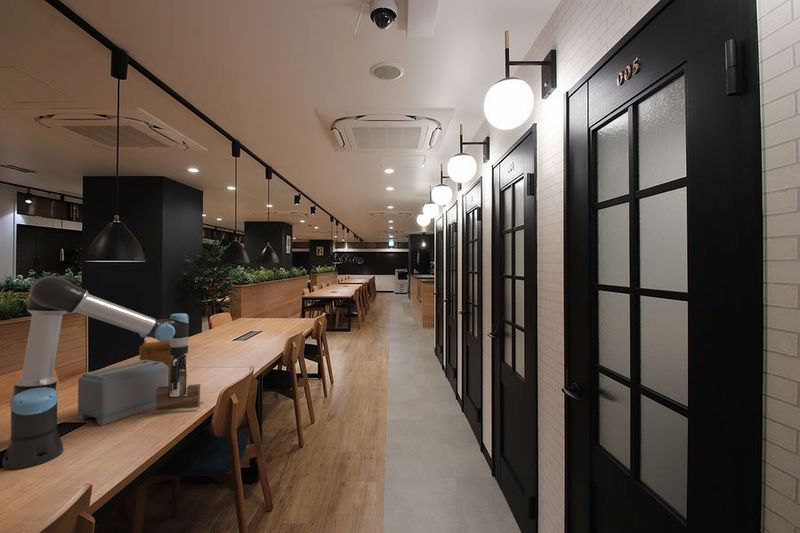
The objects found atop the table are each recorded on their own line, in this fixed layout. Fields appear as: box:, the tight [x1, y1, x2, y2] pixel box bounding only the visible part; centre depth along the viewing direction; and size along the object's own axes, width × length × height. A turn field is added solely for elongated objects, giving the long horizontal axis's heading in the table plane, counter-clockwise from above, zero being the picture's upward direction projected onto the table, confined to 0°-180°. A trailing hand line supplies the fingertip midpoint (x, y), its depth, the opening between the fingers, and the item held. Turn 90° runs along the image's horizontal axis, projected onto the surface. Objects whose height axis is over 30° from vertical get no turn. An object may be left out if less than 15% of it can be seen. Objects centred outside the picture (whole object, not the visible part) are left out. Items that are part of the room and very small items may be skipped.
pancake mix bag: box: [138, 340, 174, 386], centre depth 197 cm, size 7×19×28 cm, turn 122°
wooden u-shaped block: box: [151, 383, 204, 416], centre depth 174 cm, size 10×19×11 cm, turn 104°
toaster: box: [77, 360, 168, 427], centre depth 173 cm, size 19×33×20 cm, turn 158°
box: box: [171, 369, 187, 397], centre depth 174 cm, size 6×4×12 cm
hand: (178, 393), depth 174 cm, fingers closed on box, 7 cm apart
